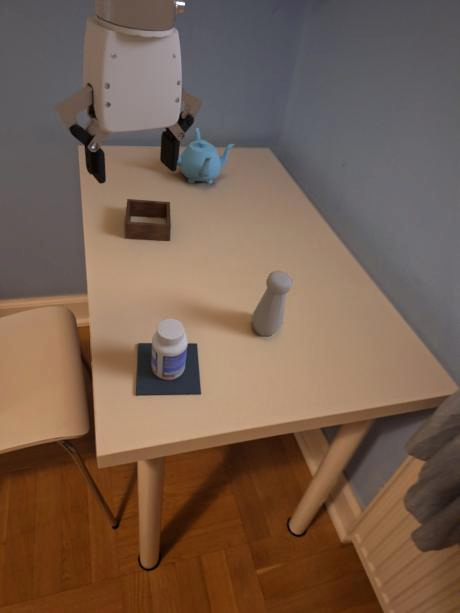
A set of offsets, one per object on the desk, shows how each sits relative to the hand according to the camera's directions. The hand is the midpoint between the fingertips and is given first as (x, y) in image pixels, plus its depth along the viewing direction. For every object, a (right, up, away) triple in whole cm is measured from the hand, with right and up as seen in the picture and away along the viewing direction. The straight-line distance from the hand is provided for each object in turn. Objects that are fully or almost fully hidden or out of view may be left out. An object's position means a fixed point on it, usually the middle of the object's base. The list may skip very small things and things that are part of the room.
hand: (134, 171), depth 51 cm
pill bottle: (+2, -27, +15) cm, 31 cm away
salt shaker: (+18, -21, +25) cm, 38 cm away
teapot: (+3, +19, +61) cm, 64 cm away
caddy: (-7, +1, +41) cm, 42 cm away
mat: (+2, -27, +15) cm, 31 cm away
